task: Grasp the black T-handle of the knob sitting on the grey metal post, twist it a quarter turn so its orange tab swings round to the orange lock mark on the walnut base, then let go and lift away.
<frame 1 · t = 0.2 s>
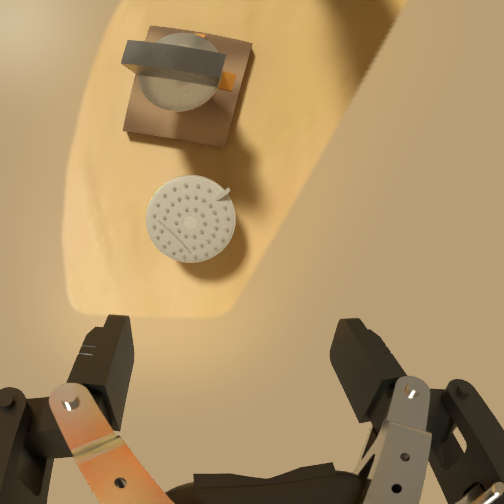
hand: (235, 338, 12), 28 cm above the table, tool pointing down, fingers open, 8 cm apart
knob: (185, 68, 22), point 12 cm above the table, hinge at 0.0°
post base: (186, 85, 32), on the table
showerhead: (194, 204, 38), on the table
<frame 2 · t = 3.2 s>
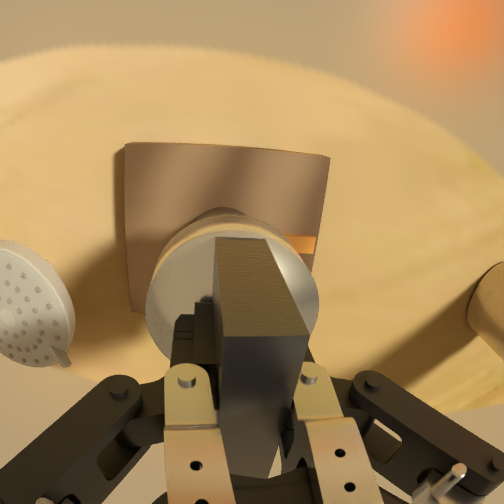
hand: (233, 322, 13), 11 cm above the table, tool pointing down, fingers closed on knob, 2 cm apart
knob: (235, 353, 12), point 12 cm above the table, hinge at 0.0°, touching gripper
post base: (221, 231, 22), on the table
showerhead: (49, 272, 22), on the table
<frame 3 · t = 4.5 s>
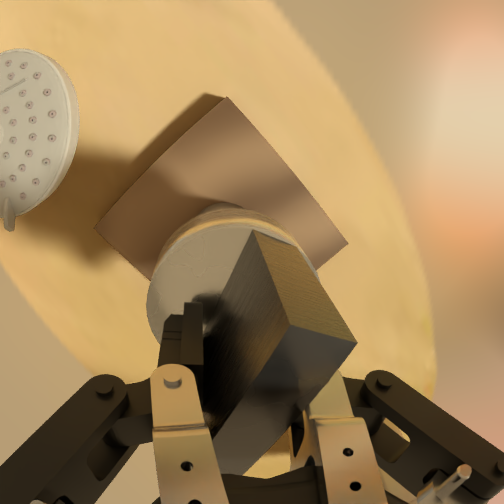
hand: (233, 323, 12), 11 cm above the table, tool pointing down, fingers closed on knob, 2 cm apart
knob: (233, 348, 11), point 12 cm above the table, hinge at 24.4°, touching gripper
post base: (223, 227, 22), on the table
showerhead: (50, 130, 18), on the table
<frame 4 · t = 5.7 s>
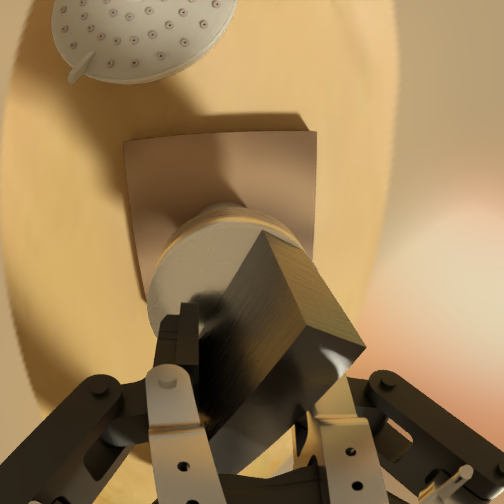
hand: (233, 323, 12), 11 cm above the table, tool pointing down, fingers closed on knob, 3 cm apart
knob: (233, 347, 11), point 12 cm above the table, hinge at 58.8°, touching gripper
post base: (223, 226, 22), on the table
showerhead: (155, 30, 16), on the table
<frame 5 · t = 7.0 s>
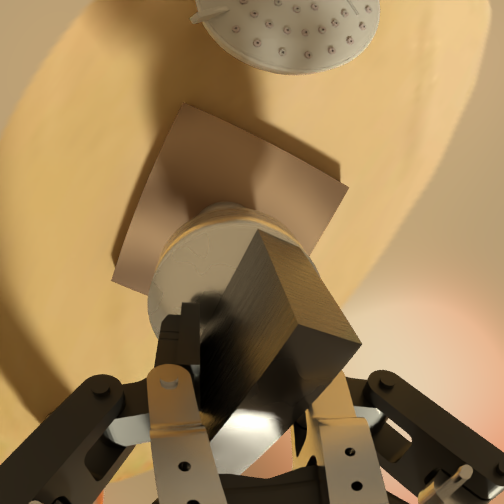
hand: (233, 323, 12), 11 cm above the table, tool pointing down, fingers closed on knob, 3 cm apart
knob: (234, 347, 11), point 12 cm above the table, hinge at 90.3°, touching gripper
post base: (224, 226, 22), on the table
showerhead: (265, 23, 17), on the table
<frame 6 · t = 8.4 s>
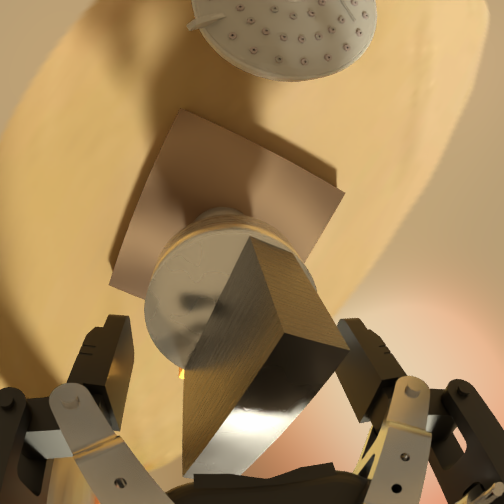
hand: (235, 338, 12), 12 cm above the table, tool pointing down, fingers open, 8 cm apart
knob: (229, 353, 12), point 12 cm above the table, hinge at 92.1°
post base: (221, 231, 22), on the table
showerhead: (263, 28, 17), on the table
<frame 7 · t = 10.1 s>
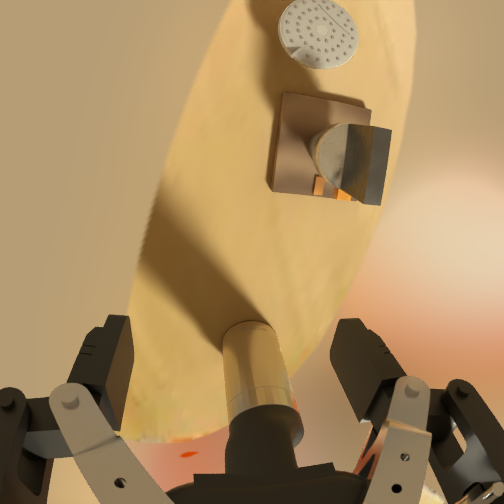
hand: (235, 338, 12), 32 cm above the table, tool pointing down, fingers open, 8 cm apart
knob: (357, 165, 29), point 12 cm above the table, hinge at 92.1°
post base: (320, 147, 40), on the table
showerhead: (303, 43, 34), on the table
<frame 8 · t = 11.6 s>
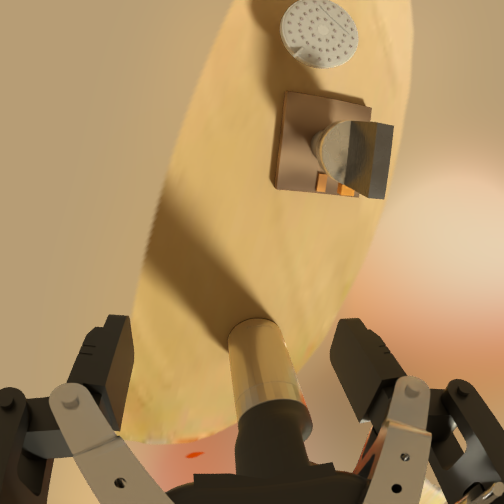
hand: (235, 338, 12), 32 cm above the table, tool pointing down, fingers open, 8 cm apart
knob: (361, 161, 30), point 12 cm above the table, hinge at 92.1°
post base: (322, 145, 41), on the table
showerhead: (304, 43, 35), on the table
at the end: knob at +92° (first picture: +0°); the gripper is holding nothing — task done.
